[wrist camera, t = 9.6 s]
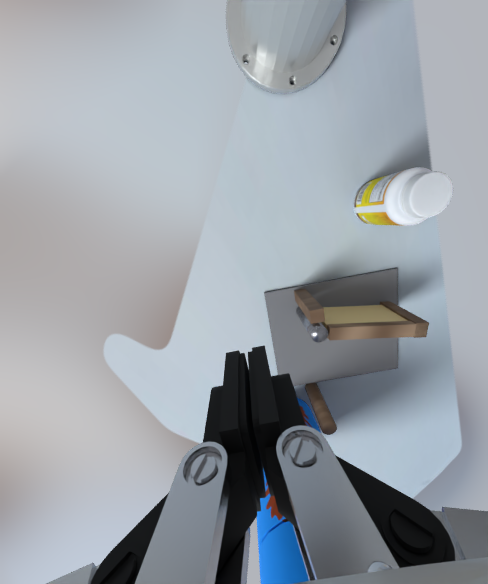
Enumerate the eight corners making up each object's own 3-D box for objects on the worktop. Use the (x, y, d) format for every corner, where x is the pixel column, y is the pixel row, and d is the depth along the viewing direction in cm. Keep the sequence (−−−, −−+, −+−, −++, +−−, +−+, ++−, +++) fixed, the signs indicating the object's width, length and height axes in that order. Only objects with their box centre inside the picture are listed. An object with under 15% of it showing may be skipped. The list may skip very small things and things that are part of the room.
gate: (295, 317, 35) (310, 342, 28) (296, 304, 35) (311, 327, 28) (388, 313, 35) (425, 337, 28) (389, 300, 35) (429, 322, 28)
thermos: (238, 415, 41) (238, 684, 18) (290, 382, 40) (369, 631, 16) (274, 453, 44) (317, 732, 20) (324, 424, 42) (436, 690, 19)
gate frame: (264, 292, 35) (271, 314, 27) (395, 268, 35) (443, 283, 26) (281, 396, 40) (292, 440, 32) (396, 377, 40) (435, 417, 32)
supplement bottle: (395, 217, 33) (463, 217, 23) (354, 229, 33) (404, 234, 23) (391, 173, 31) (462, 152, 21) (348, 186, 31) (398, 171, 21)
